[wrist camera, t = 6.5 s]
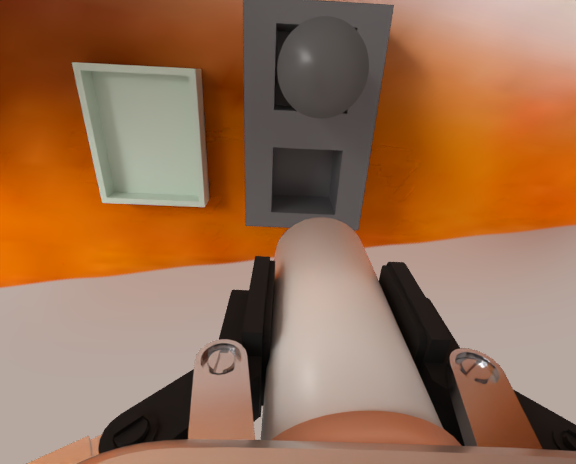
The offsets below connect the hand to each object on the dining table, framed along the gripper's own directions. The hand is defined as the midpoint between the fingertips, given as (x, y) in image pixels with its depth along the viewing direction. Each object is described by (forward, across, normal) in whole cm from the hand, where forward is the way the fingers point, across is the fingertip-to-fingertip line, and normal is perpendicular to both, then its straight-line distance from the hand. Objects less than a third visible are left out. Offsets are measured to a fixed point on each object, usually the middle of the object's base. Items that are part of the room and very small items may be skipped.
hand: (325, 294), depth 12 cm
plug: (+3, 0, 0) cm, 3 cm away
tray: (+19, +13, -2) cm, 23 cm away
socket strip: (+19, 0, -4) cm, 19 cm away
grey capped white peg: (+17, 0, -8) cm, 19 cm away
